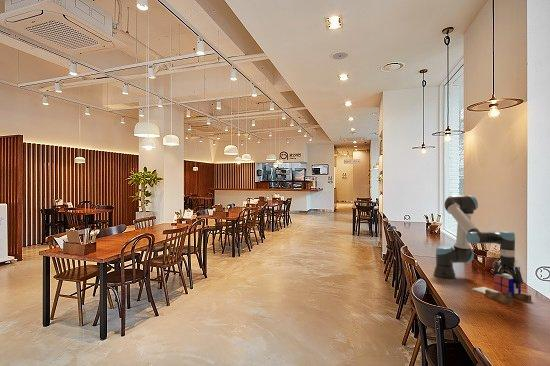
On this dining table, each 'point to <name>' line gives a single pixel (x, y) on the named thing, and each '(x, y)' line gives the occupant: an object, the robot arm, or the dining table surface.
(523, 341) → the dining table surface
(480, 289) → the white square panel
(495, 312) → the dining table surface
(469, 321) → the dining table surface
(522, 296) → the plane body cradle
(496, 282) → the puzzle cube
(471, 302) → the dining table surface
